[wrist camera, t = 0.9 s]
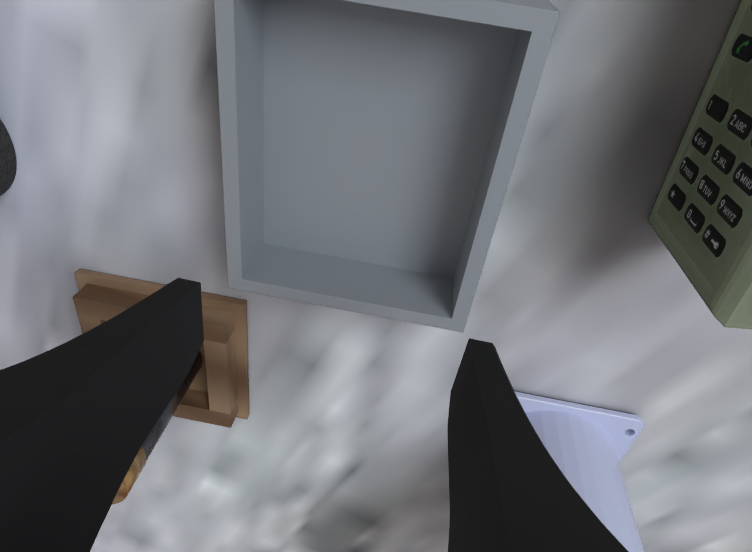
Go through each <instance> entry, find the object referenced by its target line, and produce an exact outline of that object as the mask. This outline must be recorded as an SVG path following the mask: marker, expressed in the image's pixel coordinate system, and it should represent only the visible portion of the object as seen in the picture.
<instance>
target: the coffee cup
mask: <svg viewBox="0 0 752 552" xmlns="http://www.w3.org/2000/svg"><path fill="white" fill-rule="evenodd" d="M15 174H16V156H15V151H14V147H13V144H12V141H11V138H10V136H9V134H8V132H7V130H6V128H5V126H4V124H3V123H2V121H1V120H0V196H1V195H2V194H3V193H4V192H6V191H7V190H8V189H9V187H10V186H11V184H12V183H13V180H14V178H15Z"/></svg>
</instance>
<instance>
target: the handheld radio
mask: <svg viewBox="0 0 752 552" xmlns="http://www.w3.org/2000/svg"><path fill="white" fill-rule="evenodd" d="M648 221H649V223H650V224H651V226H652V227H653V229H654V230H655V232H656V233H657V234H658V236H659V237H660V239H661V240H662V242H663V243H664V245H665V246H666V247H667V249H668V250H669V252H670V253H671V255H672V256H673V258H674V259H675V260H676V262H677V263H678V265H679V266H680V268H681V269H682V270H683V272H684V273H685V275H686V276H687V278H688V279H689V281H690V282H691V283H692V285H693V286H694V288H695V289H696V291H697V292H698V294H699V295H700V296H701V298H702V299H703V301H704V302H705V304H706V305H707V307H708V308H709V309H710V311H711V312H712V314H713V315H714V317H715V318H716V319H717V320H718V321H719V322H720V323H721V324H722V325H723V326H724V327H731V328H743V329H752V0H742V1H741V3H740V5H739V8H738V10H737V12H736V15H735V17H734V19H733V22H732V24H731V26H730V29H729V31H728V33H727V36H726V38H725V40H724V43H723V45H722V47H721V50H720V52H719V54H718V57H717V59H716V61H715V64H714V66H713V68H712V71H711V73H710V75H709V78H708V80H707V82H706V85H705V87H704V89H703V92H702V94H701V96H700V99H699V101H698V104H697V106H696V108H695V111H694V113H693V115H692V118H691V120H690V122H689V125H688V127H687V129H686V132H685V134H684V136H683V139H682V141H681V143H680V146H679V148H678V150H677V153H676V155H675V157H674V160H673V162H672V164H671V167H670V169H669V171H668V174H667V176H666V178H665V181H664V183H663V185H662V188H661V190H660V192H659V195H658V197H657V199H656V202H655V204H654V206H653V209H652V211H651V213H650V216H649V218H648Z"/></svg>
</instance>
